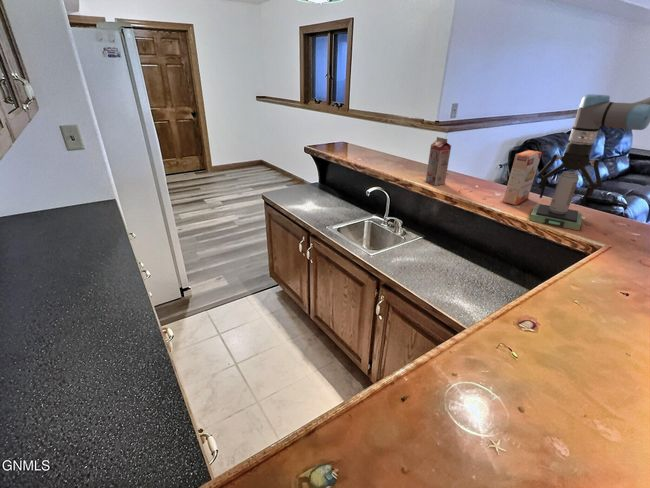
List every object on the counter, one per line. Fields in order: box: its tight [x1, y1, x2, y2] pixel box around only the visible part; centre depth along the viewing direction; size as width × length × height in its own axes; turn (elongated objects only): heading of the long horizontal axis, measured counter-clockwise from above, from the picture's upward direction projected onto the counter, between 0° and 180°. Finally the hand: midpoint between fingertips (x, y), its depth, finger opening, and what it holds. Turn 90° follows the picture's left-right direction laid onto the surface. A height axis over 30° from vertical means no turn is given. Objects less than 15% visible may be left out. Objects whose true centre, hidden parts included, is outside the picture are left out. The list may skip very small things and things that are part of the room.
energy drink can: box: [549, 170, 580, 214], centre depth 130 cm, size 6×6×15 cm
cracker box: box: [502, 149, 543, 206], centre depth 149 cm, size 14×6×21 cm, turn 132°
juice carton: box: [425, 136, 452, 186], centre depth 171 cm, size 7×7×22 cm
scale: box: [529, 204, 583, 231], centre depth 133 cm, size 16×15×2 cm
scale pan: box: [536, 203, 579, 222], centre depth 133 cm, size 13×12×1 cm
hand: (561, 200), depth 131 cm, fingers open, 13 cm apart
